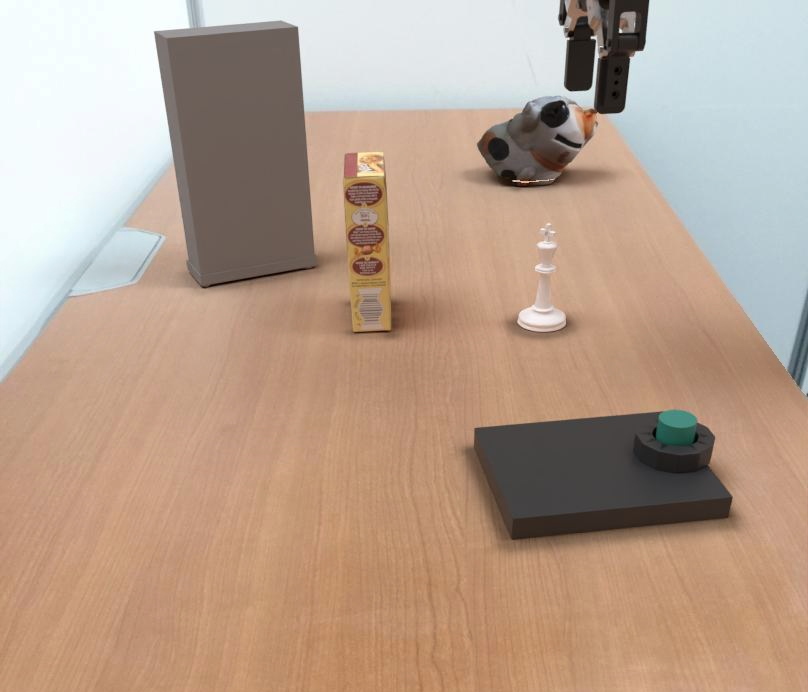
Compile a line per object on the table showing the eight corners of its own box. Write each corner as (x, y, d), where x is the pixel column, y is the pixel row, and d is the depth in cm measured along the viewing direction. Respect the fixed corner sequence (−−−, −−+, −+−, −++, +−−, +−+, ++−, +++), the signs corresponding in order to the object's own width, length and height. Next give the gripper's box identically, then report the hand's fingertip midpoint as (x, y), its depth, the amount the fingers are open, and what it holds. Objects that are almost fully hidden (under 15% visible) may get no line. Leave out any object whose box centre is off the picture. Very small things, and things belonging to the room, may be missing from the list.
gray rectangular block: (299, 252, 116) (279, 19, 101) (317, 267, 111) (300, 26, 97) (187, 271, 111) (150, 30, 97) (201, 288, 107) (165, 38, 92)
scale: (672, 430, 79) (679, 392, 77) (739, 517, 69) (749, 476, 67) (473, 448, 77) (474, 409, 75) (511, 540, 67) (514, 499, 65)
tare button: (685, 428, 73) (688, 407, 72) (699, 446, 71) (703, 425, 70) (650, 431, 73) (653, 411, 72) (663, 449, 71) (667, 429, 70)
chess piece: (539, 308, 100) (545, 212, 95) (576, 322, 97) (585, 224, 92) (507, 322, 98) (512, 224, 92) (544, 336, 95) (551, 236, 89)
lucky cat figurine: (541, 158, 148) (590, 75, 138) (573, 209, 143) (626, 127, 133) (462, 141, 140) (507, 52, 131) (492, 194, 135) (543, 105, 125)
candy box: (392, 332, 96) (388, 175, 87) (350, 333, 96) (341, 176, 87) (389, 298, 103) (385, 150, 94) (350, 300, 103) (342, 151, 94)
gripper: (707, -157, 60) (670, 119, 69) (634, -156, 71) (611, 81, 81) (590, -154, 59) (569, 124, 69) (536, -153, 71) (524, 85, 80)
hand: (592, 101), depth 75 cm, fingers open, 8 cm apart
